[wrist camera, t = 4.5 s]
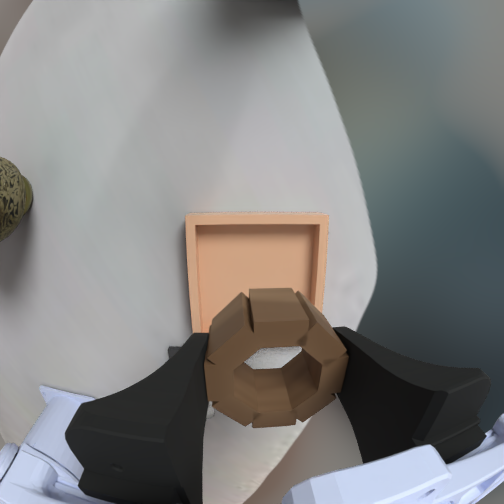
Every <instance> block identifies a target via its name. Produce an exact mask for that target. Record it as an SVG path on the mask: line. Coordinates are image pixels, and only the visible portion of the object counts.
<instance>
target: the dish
mask: <svg viewBox="0 0 504 504" xmlns="http://www.w3.org/2000/svg"><path fill="white" fill-rule="evenodd" d="M185 222H186V247H187V266H188V281H189V295H190V308H191V319H192V330H193V333H209V327H210V325H211V324H212V319H213V318H214V317H215V316H216V315H217V314H218V313H219V312H220V311H221V310H222V309H223V308H225V307H226V306H227V305H228V304H229V303H230V302H231V301H232V300H233V299H234V298H235V297H236V296H237V295H238V294H239V293H240V292H243V293H244V294H245V295H246V296H247V297H248V298H249V289H257V288H292V289H293V291H294V293H296V292H297V291H298V290H299V291H300V292H301V293H302V294H303V295H304V296H305V297H306V298H307V299H308V300H309V301H310V302H311V303H312V304H313V305H314V306H315V307H316V308H317V309H318V310H319V311H320V312H321V313H322V307H323V297H324V286H325V274H326V260H327V245H328V225H329V215H326V214H323V213H317V212H206V213H189V214H187V215H186V216H185Z"/></svg>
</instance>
